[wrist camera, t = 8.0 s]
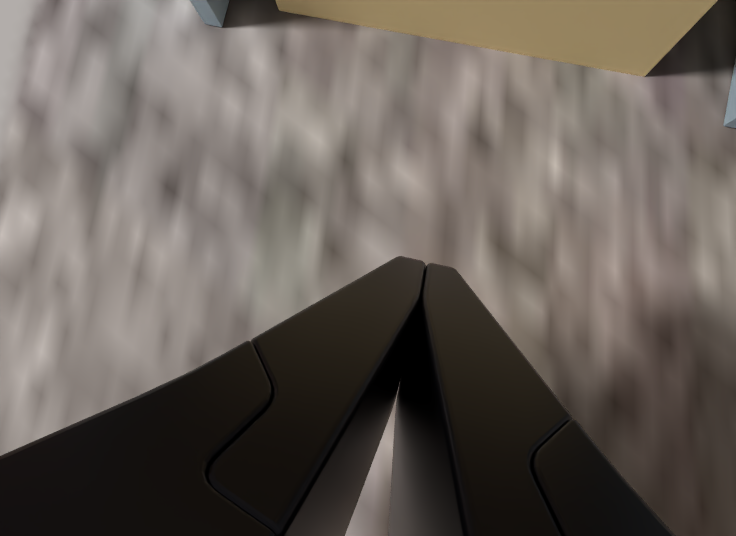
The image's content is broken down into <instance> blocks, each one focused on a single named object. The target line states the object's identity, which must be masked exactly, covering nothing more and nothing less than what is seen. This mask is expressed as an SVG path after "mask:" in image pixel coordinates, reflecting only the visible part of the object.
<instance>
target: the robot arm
mask: <svg viewBox="0 0 736 536" xmlns="http://www.w3.org/2000/svg"><path fill="white" fill-rule="evenodd" d="M425 267H426V268H425ZM400 379H401V380H400ZM399 383H400V384H399ZM398 387H399V390H398ZM397 391H398V395H397ZM396 395H397V402H396V413H395V428H394V445H393V462H392V479H391V496H390V513H389V529H388V536H675V534H674V533H673V532H672V531H671V530H670V529H669V528H668V527H667V526H666V525H665V524H664V522H663V521H662V520H661V519H660V518H659V517H658V516H657V515H656V514H655V513H654V511H653V510H652V509H651V508H650V507H649V506H648V505H647V504H646V503H645V502H644V500H643V499H642V498H641V497H640V496H639V495H638V494H637V493H636V492H635V491H634V489H633V488H632V487H631V486H630V485H629V484H628V483H627V482H626V480H625V479H624V478H623V477H622V476H621V474H620V473H619V472H618V471H617V470H616V468H615V467H614V466H613V465H612V464H611V462H610V461H609V460H608V459H607V458H606V456H605V455H604V454H603V453H602V452H601V450H600V449H599V448H598V447H597V446H596V444H595V443H594V442H593V441H592V439H591V438H590V437H589V436H588V434H587V433H586V432H585V431H584V429H583V428H582V427H581V426H580V424H579V423H578V422H577V421H576V420H574V419H572V417H571V415H570V413H569V412H568V411H567V410H566V408H565V407H564V406H563V405H562V403H561V402H560V401H559V400H558V398H557V397H556V396H555V394H554V393H553V392H552V391H551V389H550V388H549V387H548V386H547V384H546V383H545V382H544V381H543V379H542V378H541V377H540V375H539V374H538V373H537V372H536V370H535V369H534V368H533V367H532V365H531V364H530V363H529V362H528V360H527V359H526V358H525V356H524V355H523V354H522V353H521V351H520V350H519V349H518V348H517V346H516V345H515V344H514V343H513V341H512V340H511V339H510V337H509V336H508V335H507V334H506V332H505V331H504V330H503V329H502V327H501V326H500V325H499V323H498V322H497V321H496V320H495V318H494V317H493V316H492V315H491V313H490V312H489V311H488V310H487V308H486V307H485V306H484V304H483V303H482V302H481V301H480V299H479V298H478V297H477V296H476V294H475V293H474V292H473V291H472V289H471V288H470V287H469V285H468V284H467V283H466V282H465V280H464V279H463V278H462V277H461V275H460V274H459V273H458V272H457V270H455V269H454V268H452V267H447V266H443V265H438V264H434V263H429V264H428V265H427V266H426V265H425V263H424V262H423V261H420V260H416V259H412V258H407V257H403V256H399V257H396V258H394V259H392V260H391V261H389V262H387V263H385V264H384V265H382V266H380V267H378V268H376V269H375V270H373V271H371V272H369V273H368V274H366V275H364V276H362V277H361V278H359V279H357V280H355V281H354V282H352V283H350V284H348V285H346V286H345V287H343V288H341V289H339V290H338V291H336V292H334V293H332V294H331V295H329V296H327V297H325V298H324V299H322V300H320V301H318V302H317V303H315V304H313V305H311V306H309V307H308V308H306V309H304V310H302V311H301V312H299V313H297V314H295V315H294V316H292V317H290V318H288V319H287V320H285V321H283V322H281V323H279V324H278V325H276V326H274V327H272V328H271V329H269V330H267V331H265V332H264V333H262V334H260V335H258V336H257V337H255V338H253V339H252V340H251V341H246V342H244V343H242V344H240V345H239V346H237V347H235V348H233V349H231V350H230V351H228V352H226V353H224V354H222V355H221V356H219V357H217V358H215V359H213V360H211V361H209V362H207V363H205V364H203V365H202V366H200V367H198V368H196V369H194V370H192V371H190V372H188V373H186V374H184V375H182V376H180V377H178V378H176V379H173V380H171V381H169V382H167V383H165V384H163V385H160V386H158V387H156V388H154V389H152V390H150V391H147V392H145V393H143V394H141V395H139V396H137V397H134V398H132V399H130V400H127V401H125V402H123V403H121V404H118V405H116V406H114V407H111V408H109V409H107V410H104V411H102V412H100V413H98V414H95V415H93V416H91V417H88V418H86V419H84V420H82V421H79V422H77V423H75V424H72V425H70V426H68V427H66V428H63V429H61V430H59V431H56V432H54V433H52V434H49V435H47V436H45V437H43V438H40V439H38V440H36V441H33V442H31V443H29V444H27V445H24V446H22V447H20V448H17V449H15V450H13V451H10V452H8V453H6V454H4V455H1V456H0V536H345V533H346V531H347V528H348V525H349V523H350V520H351V517H352V515H353V512H354V510H355V507H356V504H357V502H358V499H359V496H360V494H361V491H362V488H363V486H364V483H365V480H366V478H367V475H368V472H369V470H370V467H371V464H372V462H373V459H374V456H375V454H376V451H377V448H378V446H379V443H380V440H381V438H382V435H383V433H384V430H385V427H386V425H387V422H388V419H389V417H390V414H391V411H392V408H393V405H394V402H395V399H396Z"/></svg>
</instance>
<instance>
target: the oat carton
mask: <svg viewBox="0 0 736 536" xmlns="http://www.w3.org/2000/svg"><path fill="white" fill-rule="evenodd" d="M275 1H276V3H277V6H278V9H279V11H284V12H289V13H295V14H300V15H306V16H312V17H317V18H323V19H328V20H334V21H339V22H345V23H350V24H356V25H361V26H367V27H372V28H378V29H383V30H389V31H394V32H400V33H405V34H411V35H416V36H422V37H427V38H433V39H438V40H444V41H449V42H455V43H461V44H466V45H472V46H477V47H483V48H488V49H494V50H499V51H505V52H510V53H516V54H521V55H527V56H532V57H538V58H543V59H549V60H554V61H560V62H565V63H571V64H576V65H582V66H587V67H593V68H598V69H604V70H610V71H615V72H621V73H626V74H632V75H637V76H643V77H645V76H646V75H647V74H648V72H649V71H650V70H651V69H652V68H653V67H654V66H655V65H656V64H657V63H658V62H659V61H660V60H661V59H662V58H663V57H664V56H665V55H666V54H667V53H668V52H669V51H670V50H671V49H672V47H673V46H674V45H675V44H676V43H677V42H678V41H679V40H680V39H681V38H682V37H683V36H684V35H685V34H686V33H687V32H688V31H689V30H690V29H691V28H692V27H693V26H694V25H695V24H696V22H697V21H698V20H699V19H700V18H701V17H702V16H703V15H704V14H705V13H706V12H707V11H708V10H709V9H710V8H711V7H712V6H713V5H714V4H715V3H716V2H717V1H718V0H275Z"/></svg>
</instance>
